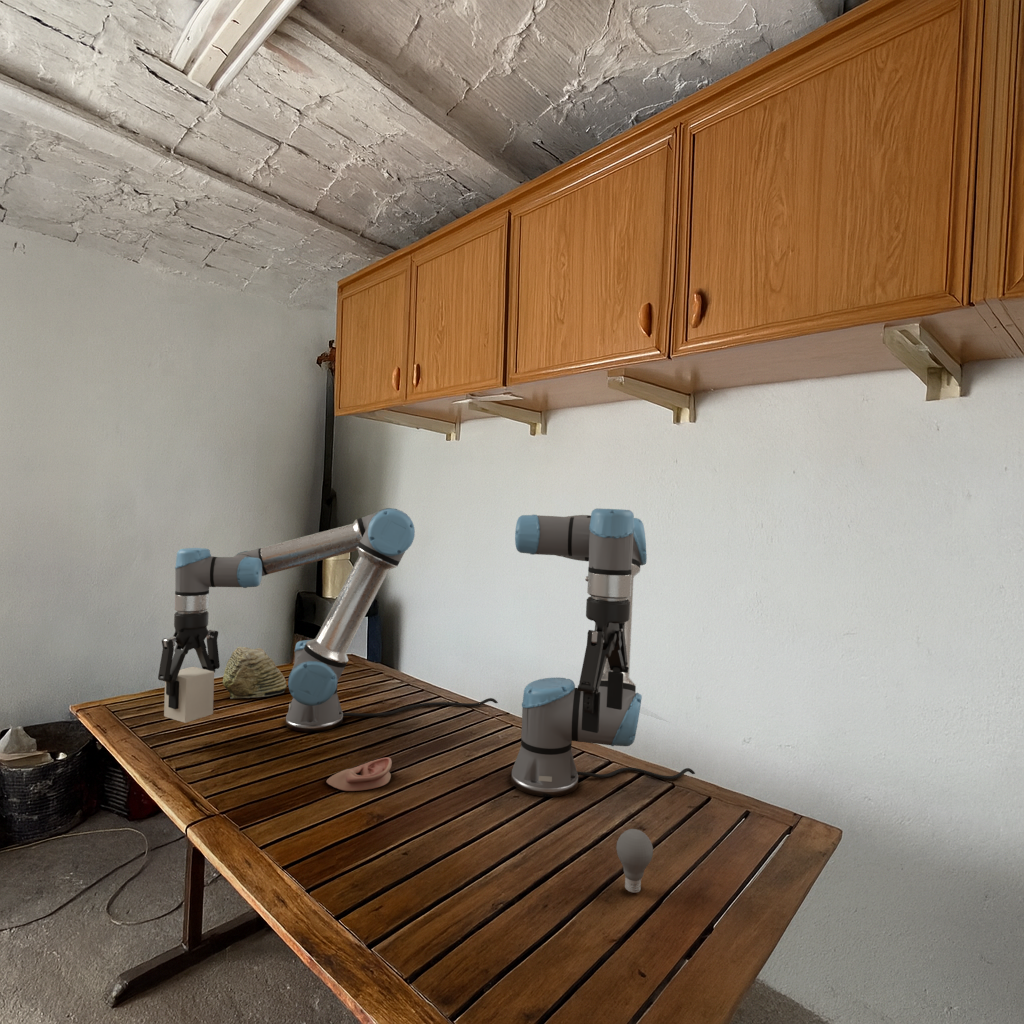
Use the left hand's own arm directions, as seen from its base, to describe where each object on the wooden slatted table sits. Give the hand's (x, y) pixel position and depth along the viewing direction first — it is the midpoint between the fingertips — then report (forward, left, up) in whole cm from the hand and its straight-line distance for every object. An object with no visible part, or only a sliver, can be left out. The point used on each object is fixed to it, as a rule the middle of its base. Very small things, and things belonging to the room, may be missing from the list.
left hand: (189, 703), depth 156 cm
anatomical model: (-17, +45, -11) cm, 49 cm away
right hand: (-24, +103, +16) cm, 107 cm away
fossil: (-32, -26, -11) cm, 43 cm away
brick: (0, 0, -3) cm, 3 cm away
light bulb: (-23, +110, -11) cm, 113 cm away
